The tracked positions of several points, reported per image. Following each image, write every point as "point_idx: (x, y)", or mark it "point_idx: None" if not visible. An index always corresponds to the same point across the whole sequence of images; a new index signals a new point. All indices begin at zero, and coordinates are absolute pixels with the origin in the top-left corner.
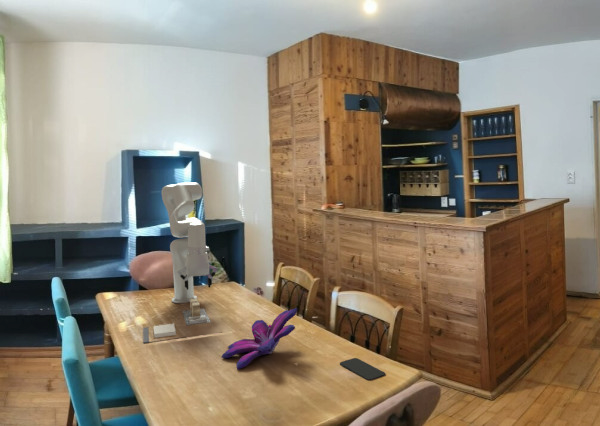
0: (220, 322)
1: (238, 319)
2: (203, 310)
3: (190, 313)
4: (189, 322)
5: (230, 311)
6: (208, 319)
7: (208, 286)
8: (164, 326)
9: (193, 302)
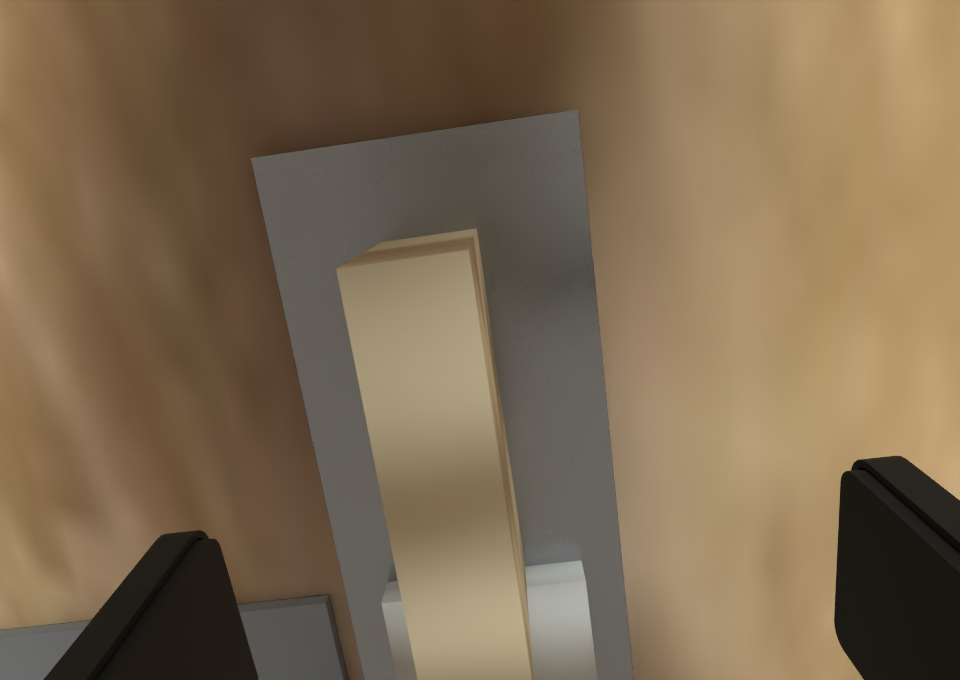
0: (740, 667)
1: None
2: (567, 230)
3: None
4: None
5: (937, 283)
6: (618, 629)
7: (842, 595)
8: None
9: (423, 532)
